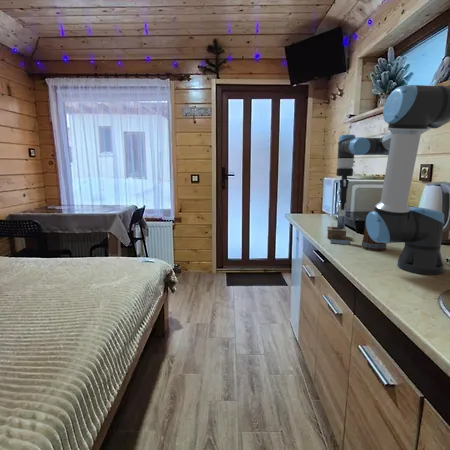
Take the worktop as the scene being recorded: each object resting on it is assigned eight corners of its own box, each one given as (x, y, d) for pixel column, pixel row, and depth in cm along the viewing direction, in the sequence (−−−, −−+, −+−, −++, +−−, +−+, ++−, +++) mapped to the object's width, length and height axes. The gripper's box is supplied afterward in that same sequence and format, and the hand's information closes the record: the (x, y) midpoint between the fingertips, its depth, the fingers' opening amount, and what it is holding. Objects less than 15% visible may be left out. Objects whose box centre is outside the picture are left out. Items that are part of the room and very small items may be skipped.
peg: (344, 229, 160) (346, 201, 157) (337, 228, 161) (338, 201, 158) (344, 227, 163) (346, 200, 161) (336, 227, 164) (338, 200, 162)
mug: (388, 251, 146) (392, 219, 143) (364, 250, 148) (366, 218, 145) (379, 243, 161) (382, 213, 158) (357, 242, 163) (359, 213, 160)
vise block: (345, 240, 168) (346, 230, 167) (326, 238, 170) (327, 229, 169) (344, 236, 176) (345, 227, 175) (326, 235, 179) (327, 226, 178)
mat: (350, 244, 158) (350, 244, 158) (330, 243, 160) (330, 242, 160) (348, 240, 166) (348, 239, 166) (330, 239, 169) (330, 238, 169)
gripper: (354, 168, 147) (350, 218, 152) (352, 167, 163) (348, 213, 168) (337, 168, 149) (334, 217, 154) (336, 167, 165) (333, 212, 170)
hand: (341, 215), depth 161 cm, fingers closed on peg, 3 cm apart
